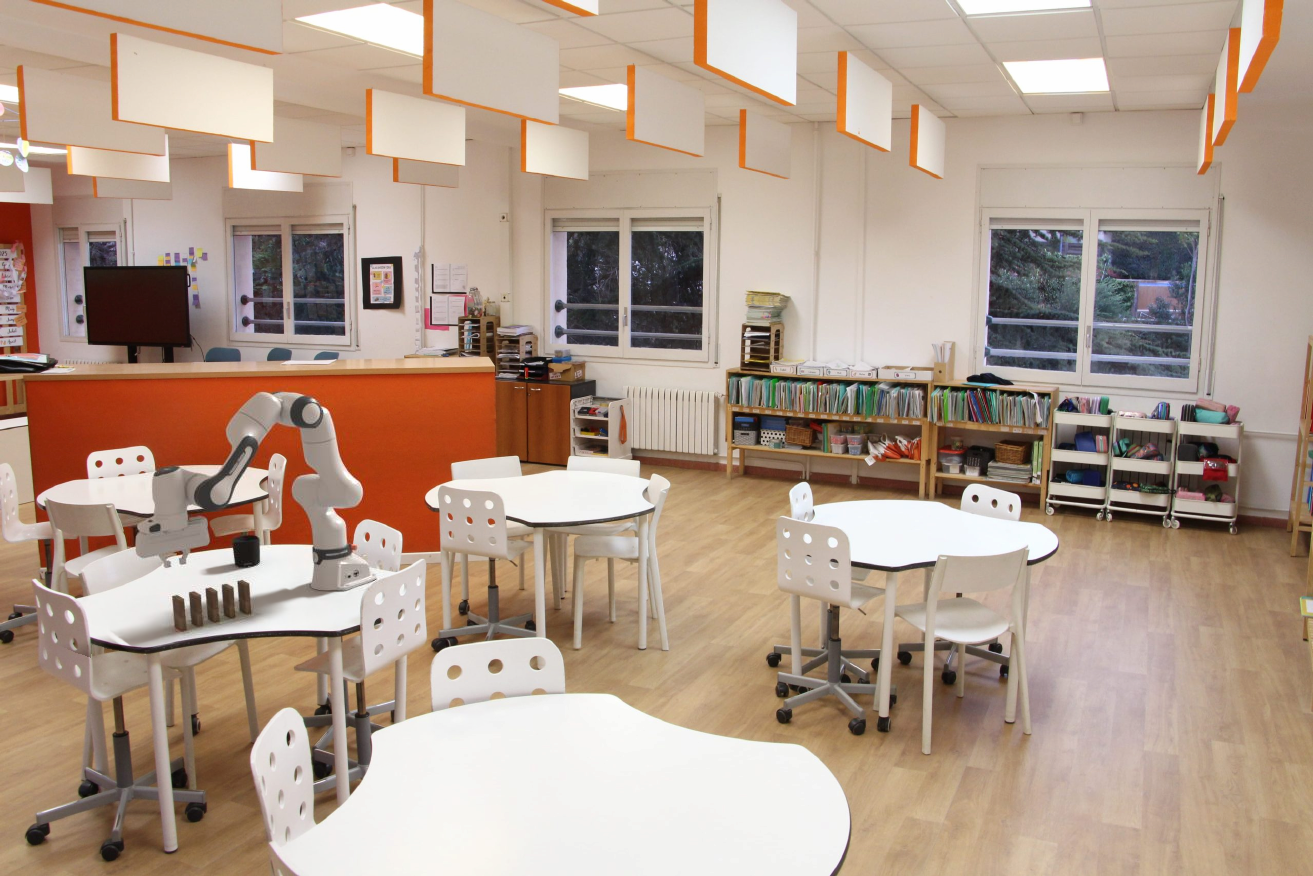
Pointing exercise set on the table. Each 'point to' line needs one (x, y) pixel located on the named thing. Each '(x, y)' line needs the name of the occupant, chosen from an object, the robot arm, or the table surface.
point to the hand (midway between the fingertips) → (175, 565)
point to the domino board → (209, 623)
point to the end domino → (179, 613)
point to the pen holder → (246, 550)
